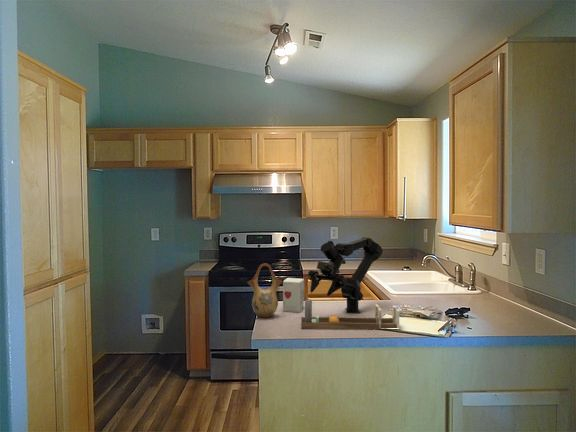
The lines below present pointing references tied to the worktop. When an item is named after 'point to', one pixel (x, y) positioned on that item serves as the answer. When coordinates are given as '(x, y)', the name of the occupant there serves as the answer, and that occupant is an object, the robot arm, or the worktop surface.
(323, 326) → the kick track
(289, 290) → the supplement box
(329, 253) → the robot arm
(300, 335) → the worktop surface
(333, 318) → the orange ball
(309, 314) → the striker sled
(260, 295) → the ceramic vessel
